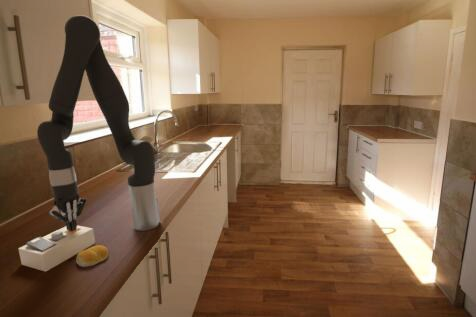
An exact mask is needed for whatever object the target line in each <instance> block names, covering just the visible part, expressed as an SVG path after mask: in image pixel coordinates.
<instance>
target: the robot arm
mask: <svg viewBox="0 0 476 317" xmlns="http://www.w3.org/2000/svg"><path fill="white" fill-rule="evenodd" d="M64 33H65V41H64V42H65V43H64V52H63V56H62V60H61V65H60V67H59V69H58V73H57V75H56V78H55V81H54V83H53V87H52V90H51V94H50V97H49V101H48V109H49V110H50V111H51V112H52V113H51V119H50V120H43V121H42V122H41V123H39V125H38V127H37V133H36V134H37V135H36V136H37V139H38V142H39V144H40V147H41V149H42V151H43V152H44V155H45V156H46V160H47V161H46V163H47V167H48V177H49V183H50V189H51V193H52V194H51V195H52V197H53V200H54V201H53V207H52V209H49V210H48V212H47V214H49V215H50V216H52V217H53V218H54V219H56V220H57V221H59V222H63V223H65V226H66V228H67V230H69V231H74V230H76V228H77V225H78V224H77V217H79V216H81V215H82V212H83V210H84V207H85V206H86V203H87V199H86V198H82V197H80V195H79V186H78V181H77V180H78V179H77V172H76V170H75V166H74V161H73V156H72V152H71V150H69V149H67V148H66V147H65V144H64V142H63V141H66V140H67V139H68V138H69V137H70V136H71V134H72V131H73V127H74V113H75V109H76V106H77V101H78V98H79V95H80V90H81V87H82V84H83V78H84V75H85V74H86V76H87V79H88V83H89V85H90V88H91V90H92V94H93V95H94V98H95V100H96V102H97V105H98V106H99V109H100V111H101V113H102V115H103V117H104V119H105V121H106V124H107V126H108V128H109V130H110V132H111V134H112V138H113V140H114V143H115V146H116V150H117V153H118V155H119V157H120V159H121V160H122V162H123V163H125V164H127V165H131V166H133V170H134V172H133V174H132V173H131V175H129V176H128V177H127V184H128V185H127V186H128V192H129V200H130V201H129V202H130V207H131V215H132V223H133V229H134V230H135V231H139V232H143V231H144V232H145V231H150V230H153V229H155V228H157V227H158V226H159V224H160V223H161V217H160V208H159V207H160V206H159V200H158V198H157V197H156V195H157V194H156V186H155V175H156V165H155V164H156V162H155V161H156V160H155V151H154V147H153V144H151V143H150V142H149V141H147V140H140V139H139V140H138V139H135V136H134V135H133V133H132V131H131V127H130V123H129V117H130V103H129V100H128V97H127V95H126V93H125V90H124V88H123V86H122V84H121V82H120V80H119V78H118V76H117V75H116V72H114V70H113V68H112V66H111V65H110V63H109V61H108V59H107V57H106V54H105V52H104V49H103V45H102V43H101V31H100V28H99V26H98V25H97V23H96V21H95V20H93V19H92V18H91V17H89V16H87V15H83V14H77V15H72V16H71V17H70V18H68V20H67V21H66V22H65V25H64Z"/></svg>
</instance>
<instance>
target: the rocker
mask: <svg viewBox="0 0 476 317" xmlns="http://www.w3.org/2000/svg"><path fill="white" fill-rule="evenodd" d="M26 245H27V246H28V247H30V248H32V249H34V250H36V251H39V252H43V251H45V250H47V249H49V248H51V247H53V246H55V244H53V243H51V242H49V241H47V240H45V239H43V238H42V236H37V237H35V238H34V239H31V240H30V241H27V242H26Z"/></svg>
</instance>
